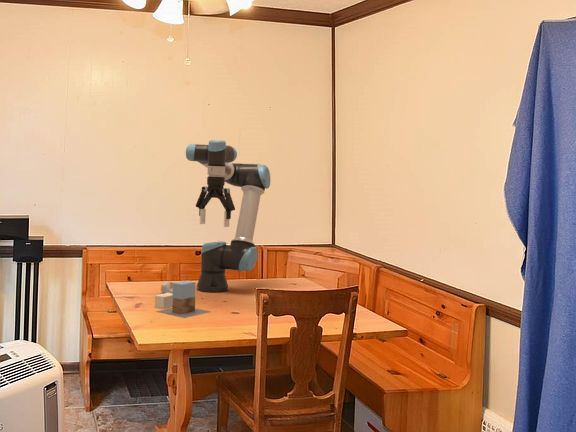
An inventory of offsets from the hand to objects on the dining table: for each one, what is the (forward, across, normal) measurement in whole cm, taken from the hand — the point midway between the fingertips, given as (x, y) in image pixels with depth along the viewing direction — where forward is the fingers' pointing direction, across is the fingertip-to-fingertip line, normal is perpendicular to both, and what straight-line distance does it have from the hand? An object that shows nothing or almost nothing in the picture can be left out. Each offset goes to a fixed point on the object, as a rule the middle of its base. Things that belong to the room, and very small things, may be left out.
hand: (214, 225), depth 301 cm
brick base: (+34, +4, -22) cm, 40 cm away
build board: (+35, +4, -22) cm, 41 cm away
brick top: (+28, +4, -22) cm, 36 cm away
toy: (+35, -15, -10) cm, 40 cm away
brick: (+35, -8, -20) cm, 41 cm away
